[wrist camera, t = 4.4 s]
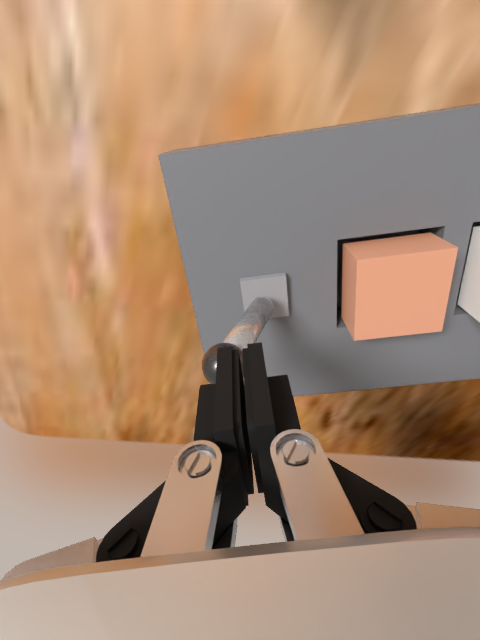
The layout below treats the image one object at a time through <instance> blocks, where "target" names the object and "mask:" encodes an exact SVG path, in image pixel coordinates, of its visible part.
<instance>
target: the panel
mask: <svg viewBox="0 0 480 640" xmlns="http://www.w3.org/2000/svg"><path fill="white" fill-rule="evenodd" d="M158 156H159V160H160V164H161V169H162V173H163V177H164V182H165V186H166V190H167V195H168V199H169V204H170V208H171V212H172V217H173V221H174V225H175V230H176V234H177V238H178V243H179V247H180V251H181V256H182V260H183V264H184V269H185V273H186V277H187V282H188V286H189V291H190V295H191V299H192V304H193V308H194V312H195V317H196V321H197V325H198V330H199V334H200V338H201V343H202V347H203V351H204V355H205V353H206V352H207V351H208V350H209V349H210V348H211V347H212V346H214V345H216V344H219V343H223V341H224V340H225V338H226V337H227V336H228V334H229V333H230V331H231V330H232V329H233V327H234V326H235V325H236V323H237V322H238V320H239V319H240V318H241V316H242V315H243V313H244V312H245V311H246V309H247V308H248V307H249V305H250V304H251V302H252V301H253V300H254V299H255V298H257V297H259V296H265V297H268V298H269V299H270V300H271V301H272V303H273V305H274V310H273V313H272V315H271V317H270V318H269V320H268V322H267V324H266V325H265V327H264V329H263V330H262V332H261V334H260V336H259V337H258V339H257V341H256V342H255V343H259V342H262V347H263V353H264V360H265V366H266V372H267V377H271V376H279V375H288V379H289V383H290V387H291V391H292V395H293V397H294V396H304V395H315V394H325V393H335V392H345V391H356V390H366V389H376V388H386V387H397V386H407V385H417V384H427V383H438V382H448V381H458V380H468V379H479V378H480V322H479V321H477V320H476V319H475V318H474V317H472V316H471V315H470V314H469V313H468V312H466V311H465V310H464V309H463V308H461V307H460V306H459V305H458V304H457V303H458V298H459V293H460V289H461V284H462V279H463V274H464V270H465V265H466V260H467V255H468V251H469V246H470V241H471V237H472V232H473V227H476V226H480V104H474V105H467V106H461V107H454V108H448V109H441V110H434V111H428V112H421V113H415V114H408V115H402V116H395V117H389V118H382V119H376V120H369V121H362V122H356V123H349V124H343V125H336V126H330V127H323V128H317V129H310V130H304V131H297V132H290V133H284V134H277V135H271V136H264V137H258V138H251V139H245V140H238V141H232V142H225V143H218V144H212V145H205V146H199V147H192V148H186V149H179V150H173V151H169V152H166V153H163V154H160V155H158ZM429 232H431V233H433V234H434V235H436V236H438V237H440V238H442V239H444V240H445V241H447V242H449V243H451V244H453V245H455V246H456V247H458V251H457V257H456V262H455V267H454V272H453V277H452V282H451V287H450V293H449V298H448V303H447V308H446V313H445V318H444V323H443V329H442V331H441V332H432V333H422V334H413V335H404V336H394V337H385V338H376V339H367V340H357V341H354V340H353V338H352V336H351V334H350V332H349V331H348V329H347V327H346V325H345V323H344V321H343V319H342V317H341V314H342V259H343V244H344V243H351V242H359V241H367V240H375V239H383V238H390V237H398V236H406V235H414V234H422V233H429ZM243 380H244V378H243Z"/></svg>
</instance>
